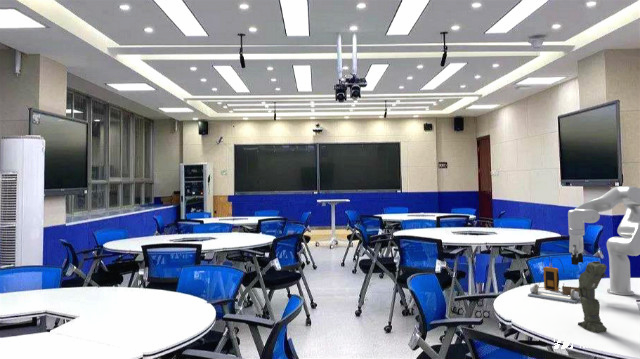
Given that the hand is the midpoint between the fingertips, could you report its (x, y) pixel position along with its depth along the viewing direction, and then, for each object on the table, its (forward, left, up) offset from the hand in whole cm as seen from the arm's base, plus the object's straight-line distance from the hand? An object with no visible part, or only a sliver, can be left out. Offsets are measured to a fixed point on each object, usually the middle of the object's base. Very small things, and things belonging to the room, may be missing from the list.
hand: (577, 263), depth 232 cm
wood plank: (0, 0, -18) cm, 19 cm away
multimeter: (-11, -15, -18) cm, 26 cm away
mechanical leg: (+57, +19, -18) cm, 63 cm away
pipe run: (+11, -9, -18) cm, 23 cm away
